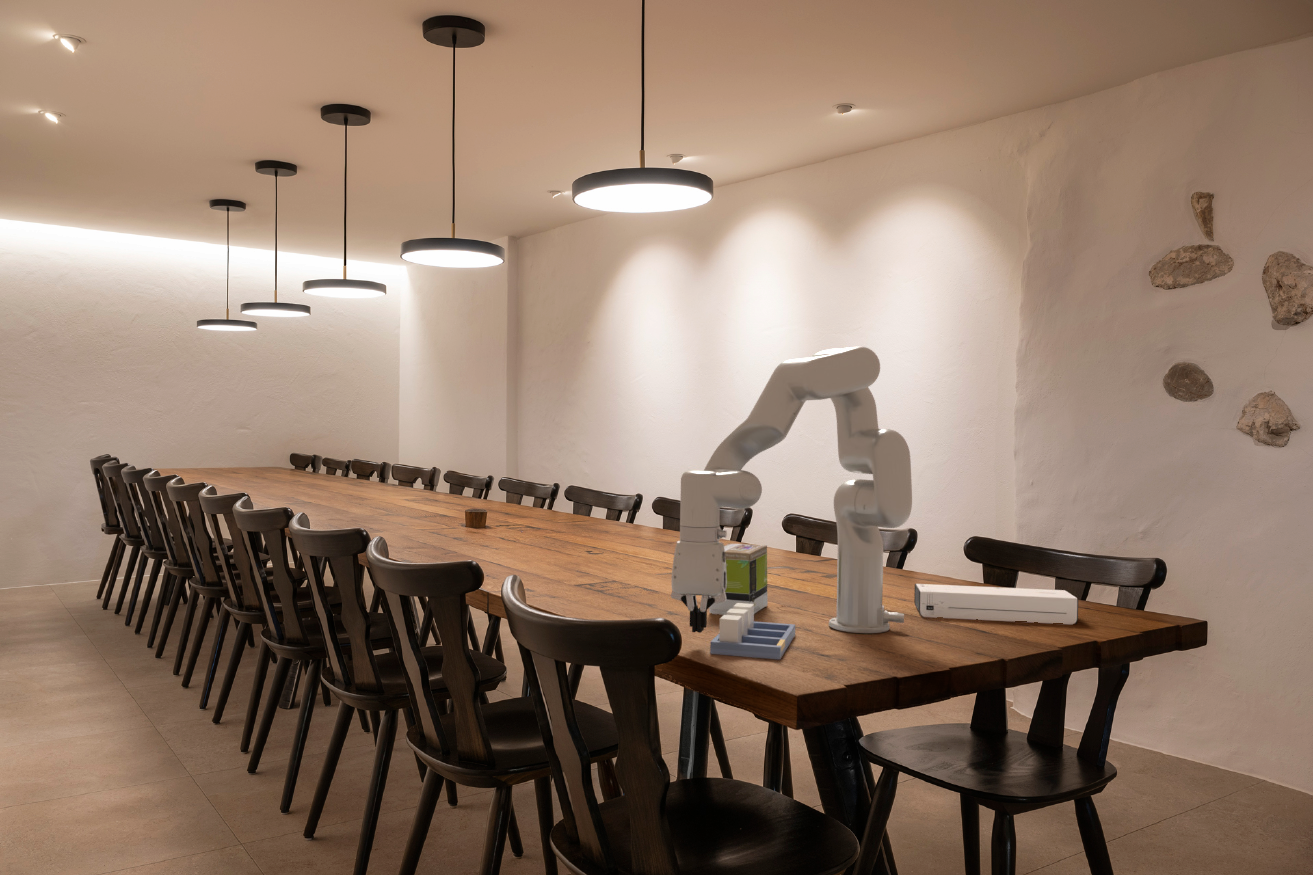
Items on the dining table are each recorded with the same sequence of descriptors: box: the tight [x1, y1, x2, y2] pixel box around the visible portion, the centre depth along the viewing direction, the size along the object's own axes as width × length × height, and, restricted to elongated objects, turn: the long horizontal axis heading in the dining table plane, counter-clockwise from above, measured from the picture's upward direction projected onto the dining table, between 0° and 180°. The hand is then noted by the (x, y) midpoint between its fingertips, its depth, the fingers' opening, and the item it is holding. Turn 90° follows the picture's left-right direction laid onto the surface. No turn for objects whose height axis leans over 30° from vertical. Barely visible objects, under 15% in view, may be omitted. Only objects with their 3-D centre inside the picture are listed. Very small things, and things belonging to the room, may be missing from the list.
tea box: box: [708, 543, 769, 616], centre depth 210 cm, size 15×10×15 cm, turn 157°
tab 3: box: [733, 603, 755, 628], centre depth 183 cm, size 4×4×5 cm
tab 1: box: [726, 609, 748, 635], centre depth 177 cm, size 4×4×5 cm
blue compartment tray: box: [709, 620, 796, 661], centre depth 176 cm, size 13×21×2 cm, turn 164°
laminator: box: [913, 583, 1079, 625], centre depth 208 cm, size 34×12×6 cm, turn 79°
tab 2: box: [718, 615, 742, 643], centre depth 171 cm, size 4×4×5 cm
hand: (698, 630), depth 173 cm, fingers closed
